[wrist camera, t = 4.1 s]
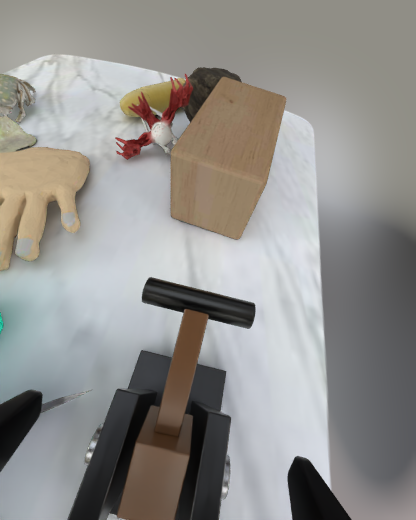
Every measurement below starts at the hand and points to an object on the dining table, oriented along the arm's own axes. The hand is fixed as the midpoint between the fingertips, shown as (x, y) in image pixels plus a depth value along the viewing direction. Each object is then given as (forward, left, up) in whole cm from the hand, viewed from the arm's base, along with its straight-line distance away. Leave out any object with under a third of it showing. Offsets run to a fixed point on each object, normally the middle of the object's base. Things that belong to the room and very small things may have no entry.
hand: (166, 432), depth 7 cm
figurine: (+33, -21, -12) cm, 41 cm away
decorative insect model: (+54, -5, -14) cm, 56 cm away
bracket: (-1, +1, -13) cm, 13 cm away
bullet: (+41, -26, -13) cm, 50 cm away
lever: (+1, -1, -3) cm, 3 cm away
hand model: (+37, -5, -13) cm, 40 cm away
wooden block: (+13, -14, -8) cm, 21 cm away
